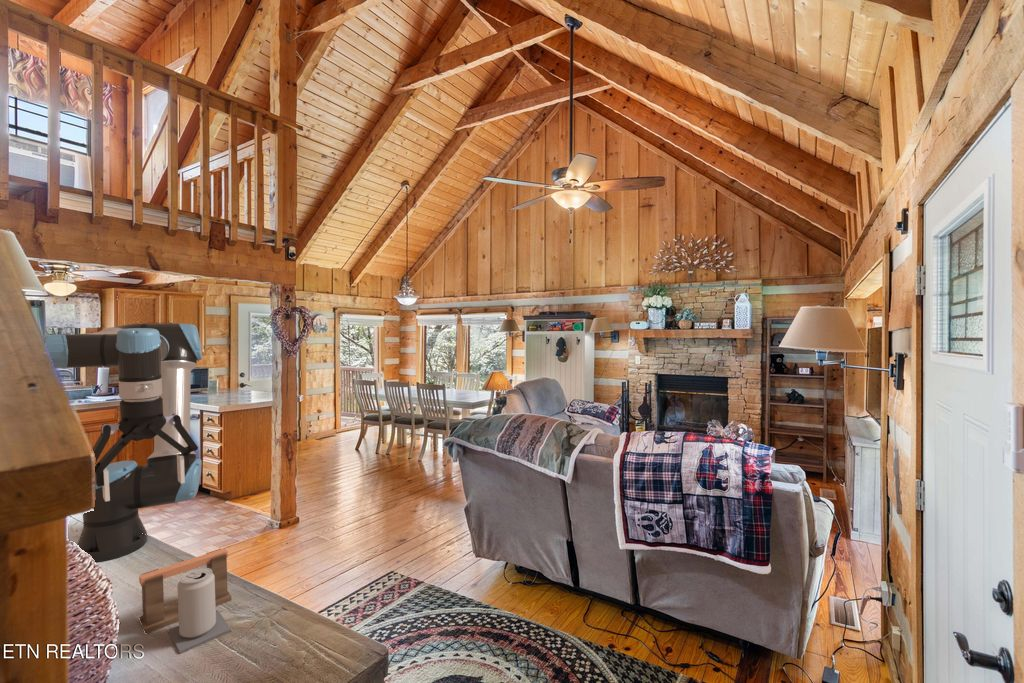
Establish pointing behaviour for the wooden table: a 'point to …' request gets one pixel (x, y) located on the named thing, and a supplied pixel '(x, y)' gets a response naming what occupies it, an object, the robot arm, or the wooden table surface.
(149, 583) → the walnut stand
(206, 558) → the crossbar
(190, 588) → the beverage can
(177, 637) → the rubber mat
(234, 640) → the wooden table surface
